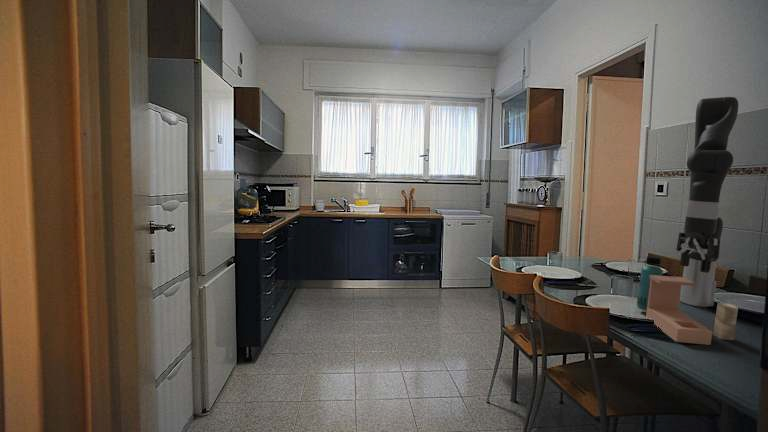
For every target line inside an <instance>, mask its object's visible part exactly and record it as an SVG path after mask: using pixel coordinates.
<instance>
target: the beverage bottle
mask: <svg viewBox="0 0 768 432" xmlns="http://www.w3.org/2000/svg"><path fill="white" fill-rule="evenodd" d="M645 263H647V265H644V266H642V267H641V271H640V276H639V284H638V285H639V286H638V293H637V298H636V299H637V301H636V306H637V307H636V308H638V309H639V310H642V311H646V312H647V305H648V297H649V289H650V281H651V279H650V278H649V276H650V275H659V276H663V273H664V271H663V269H662V268H661V267H660V266H657V265H661V257H658V256H652V255H651V256H650V255H647V256H646V259H645Z"/></svg>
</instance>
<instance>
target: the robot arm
mask: <svg viewBox="0 0 768 432" xmlns="http://www.w3.org/2000/svg"><path fill="white" fill-rule="evenodd" d="M738 114H739V100H738V99H737V97H733V96H722V97H707V98H701V99H700V100H699V101H698V103H697V105H696V110H695V122H694V123H695V126H694V127H695V128H694V131H695V132H694V147H693V150H692V152H691V153H690V154H689V156H688V158H687V160H686V167H687V169H688V171H689V172H690V181H689V182H690V183H689V194H688V195H689V196H688V197H689V198H688V204H687V207H686V213H685V221H684V227H683V232H679V233H678V239H677V243H676V244H677V245H676V251H677V252H679V253H680V260H679V261H680V262H679V265H680V266H681V267H683V273H682V277H684V278H686V279H688V280H690V281H692V282H694V283H695V286H687V285H682V286H681V293H680V300H679V302H682V303H684V304H686V305H690V306H694V307H700V308H701V307H702V308H706V307H707V308H708V307H714V304H715V303H714V302H715V297H716V288H717V281H716V280H715V275H716V268H717V261H718V259H719V257H720V248H721V246H720V245H721V239H722V238H721V237H722V234H723V228H724V223H723V222H724V221H723V219H722V217H719V210H720V209H719V207H720V206H719V204H720V196H721V191H722V187H723V183H724V182H725V179H726V177H727V175H728V173H729V172H730V171H731V168H732V166H733V163H734V156H733V154H732V152H730V151H729V150H727V149H728V148H727V147H728V142H729V137H730V133H731V131H732V129H733V128H734V125H735V123H736V121H737V117H738ZM708 126H709V127H708Z"/></svg>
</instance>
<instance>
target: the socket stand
mask: <svg viewBox="0 0 768 432" xmlns="http://www.w3.org/2000/svg"><path fill="white" fill-rule="evenodd" d="M649 278H650V279H651V281H650V289H649V297H648V305H647V311H646V315H645V318H646V317H648V318H651V319H653V320H654V324H655V325H656V326H657V327H656V326H655V325H654V324H653V325H654V326H655V327H656V328H658V327H659V328H660V329H661V330H662V331H661V330H660V329H659V328H658V329H659V330H660V331H661V332H662V333H664V334H665V335H667V336H668V337H669V338H670V339H672V340H673V341H674V342H676V343H686V344H697V345H706V346H707V345H710V346H711V343H712V337H713V331H712V330H711V329H710V328H708V327H705V325H703V324H702V323H699V322H698V321H696V320H695V319H693V318H692V317H690V316H688V315H687V314H685V313H683V312H682V311H681V310H679V306H680V293H681V286H682V285H687V286H695V283H694V282H692V281H690V280H688V279H686V278H684V277H683V276H673V275H672V276H671V275H662V276H659V275H650V276H649Z"/></svg>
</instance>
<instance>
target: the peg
mask: <svg viewBox="0 0 768 432" xmlns="http://www.w3.org/2000/svg"><path fill="white" fill-rule="evenodd" d="M716 305H717V306H716V313H715V317H714V324H713V325H714V326H713V331H712V336H715V337H716V338H717V339H720V340H727V341H734V338H735V332H736V331H735V330H736V324H737V319H738V318H737V317H738V312H739V307H737V306H735V305H733V304H731V303H723V302H717V304H716Z"/></svg>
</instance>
